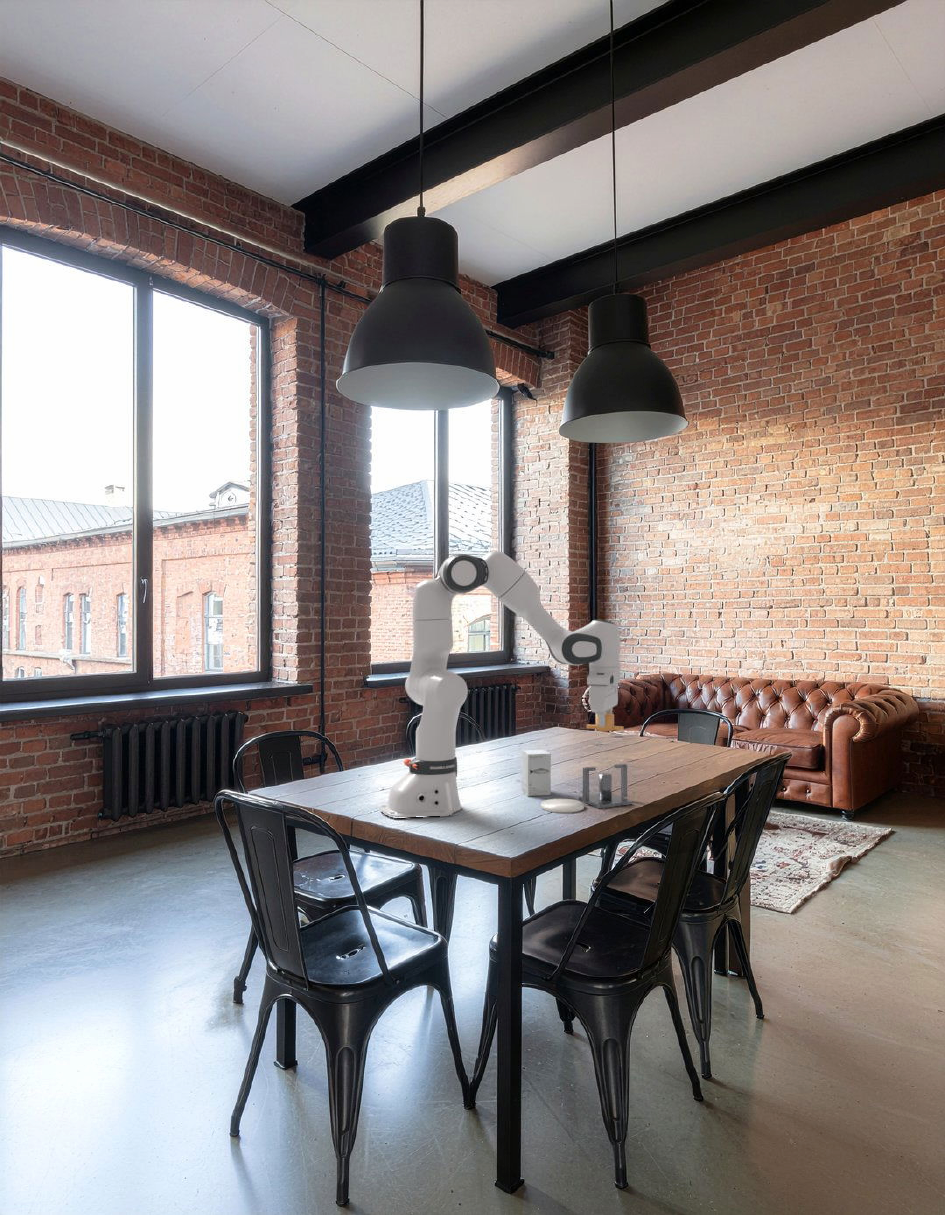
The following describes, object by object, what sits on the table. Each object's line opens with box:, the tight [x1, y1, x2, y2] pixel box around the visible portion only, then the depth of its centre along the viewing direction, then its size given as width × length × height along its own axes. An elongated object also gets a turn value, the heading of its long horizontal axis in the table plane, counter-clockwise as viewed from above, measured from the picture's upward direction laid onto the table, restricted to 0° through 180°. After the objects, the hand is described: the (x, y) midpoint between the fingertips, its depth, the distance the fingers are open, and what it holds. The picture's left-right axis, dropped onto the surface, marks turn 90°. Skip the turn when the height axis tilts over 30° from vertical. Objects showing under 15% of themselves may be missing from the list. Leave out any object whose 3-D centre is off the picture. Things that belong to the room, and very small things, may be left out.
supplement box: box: [521, 749, 552, 797], centre depth 236 cm, size 7×7×13 cm
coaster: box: [540, 798, 585, 814], centre depth 219 cm, size 12×12×1 cm
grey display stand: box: [578, 763, 634, 809], centre depth 225 cm, size 14×11×10 cm
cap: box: [586, 713, 624, 732], centre depth 225 cm, size 10×5×4 cm, turn 68°
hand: (604, 724), depth 225 cm, fingers closed on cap, 5 cm apart
